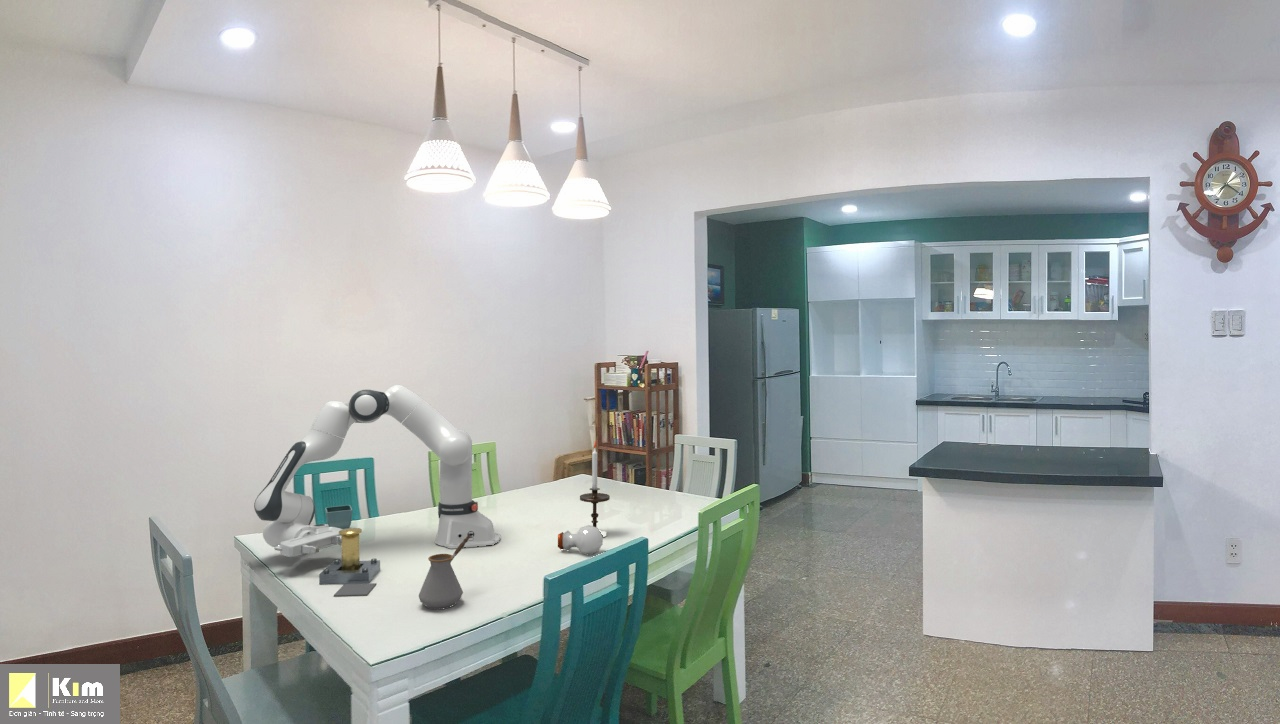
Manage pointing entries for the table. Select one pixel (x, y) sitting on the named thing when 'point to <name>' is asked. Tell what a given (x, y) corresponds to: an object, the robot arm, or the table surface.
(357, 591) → the pad
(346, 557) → the brass flanged cylinder
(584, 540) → the potion bottle
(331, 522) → the flower pot
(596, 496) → the candlestick
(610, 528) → the table surface
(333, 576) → the housing
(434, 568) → the coffee pot
